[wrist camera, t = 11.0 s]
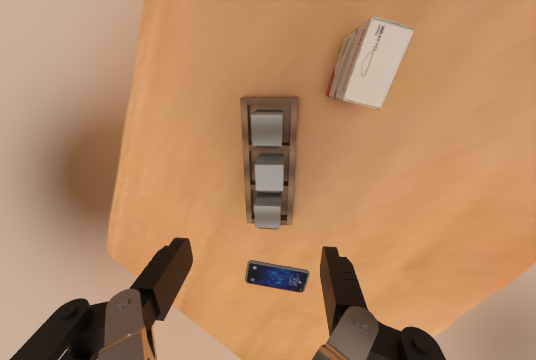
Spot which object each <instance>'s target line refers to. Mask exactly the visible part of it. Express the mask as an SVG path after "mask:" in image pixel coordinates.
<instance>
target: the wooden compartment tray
mask: <svg viewBox="0 0 536 360" xmlns="http://www.w3.org/2000/svg"><path fill="white" fill-rule="evenodd" d="M240 100H241V120H242V139H243V158H244V177H245V197H246V216H247V223H254V224H255V227H257V228H263V229H280V225H292V215H293V194H294V174H295V153H296V132H297V111H298V97H243V98H240ZM259 154H284V183H283V191H281V192H280V193H274V192H259V191H258V190H256V182H255V163H256V161H257V158H258V156H259Z"/></svg>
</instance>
